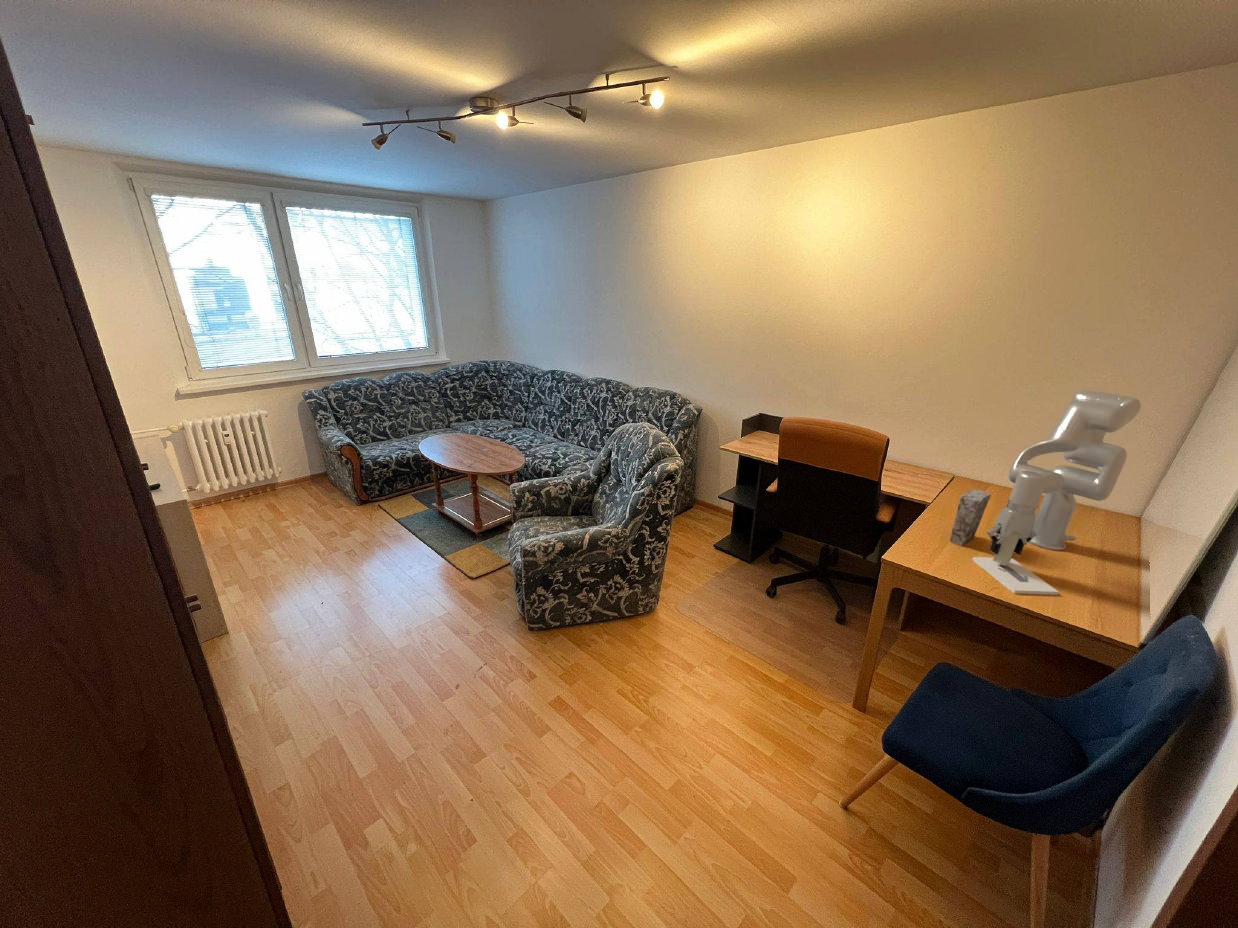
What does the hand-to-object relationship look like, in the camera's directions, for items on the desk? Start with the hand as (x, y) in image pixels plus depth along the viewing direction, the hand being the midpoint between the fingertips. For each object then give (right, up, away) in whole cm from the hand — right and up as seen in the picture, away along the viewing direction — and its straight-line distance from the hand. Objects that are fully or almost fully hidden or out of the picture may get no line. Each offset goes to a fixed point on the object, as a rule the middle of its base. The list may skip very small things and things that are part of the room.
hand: (1004, 552), depth 166 cm
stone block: (-1, +1, +20) cm, 20 cm away
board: (0, -8, -3) cm, 8 cm away
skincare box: (0, -3, +1) cm, 3 cm away
